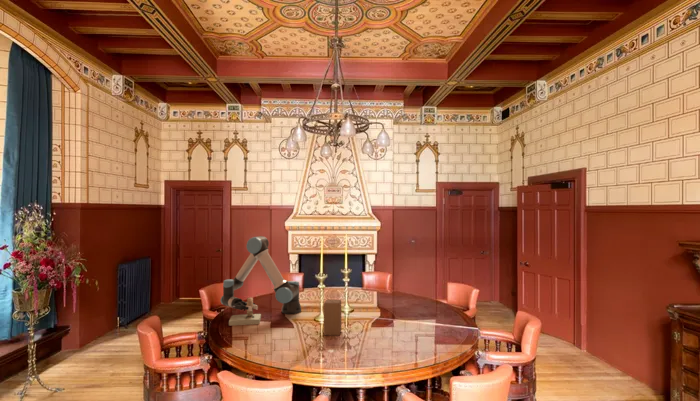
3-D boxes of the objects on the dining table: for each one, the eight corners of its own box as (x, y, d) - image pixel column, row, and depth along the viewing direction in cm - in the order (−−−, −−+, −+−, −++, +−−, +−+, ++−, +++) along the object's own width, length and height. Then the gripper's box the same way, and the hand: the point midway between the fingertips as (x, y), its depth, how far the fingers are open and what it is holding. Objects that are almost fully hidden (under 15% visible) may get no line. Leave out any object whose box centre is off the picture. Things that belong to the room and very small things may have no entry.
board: (260, 317, 254) (260, 313, 254) (259, 323, 241) (259, 319, 241) (232, 319, 251) (232, 315, 251) (228, 325, 237) (228, 321, 237)
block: (341, 330, 226) (341, 299, 226) (339, 336, 216) (339, 303, 217) (326, 330, 227) (326, 299, 227) (323, 335, 217) (323, 302, 217)
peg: (253, 319, 249) (253, 297, 249) (252, 320, 245) (252, 298, 245) (247, 319, 248) (247, 297, 248) (246, 321, 244) (246, 299, 244)
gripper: (245, 305, 264) (264, 311, 249) (225, 310, 251) (243, 316, 236) (245, 295, 265) (264, 300, 250) (225, 300, 252) (243, 305, 237)
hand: (254, 308), depth 243 cm, fingers closed on peg, 4 cm apart
